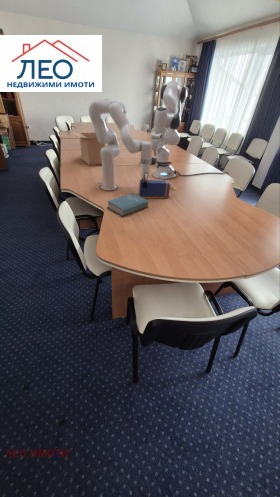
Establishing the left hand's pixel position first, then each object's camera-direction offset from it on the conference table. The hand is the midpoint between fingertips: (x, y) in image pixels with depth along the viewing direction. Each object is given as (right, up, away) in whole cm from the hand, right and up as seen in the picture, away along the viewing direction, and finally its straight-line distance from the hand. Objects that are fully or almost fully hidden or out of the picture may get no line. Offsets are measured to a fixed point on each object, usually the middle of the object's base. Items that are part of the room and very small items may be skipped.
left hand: (144, 185), depth 165 cm
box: (-53, +47, +72) cm, 101 cm away
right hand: (+10, +24, +2) cm, 26 cm away
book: (-11, -19, -12) cm, 25 cm away
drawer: (+12, -6, +6) cm, 15 cm away
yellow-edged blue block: (+6, -7, +6) cm, 11 cm away
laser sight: (+9, +47, +78) cm, 92 cm away
